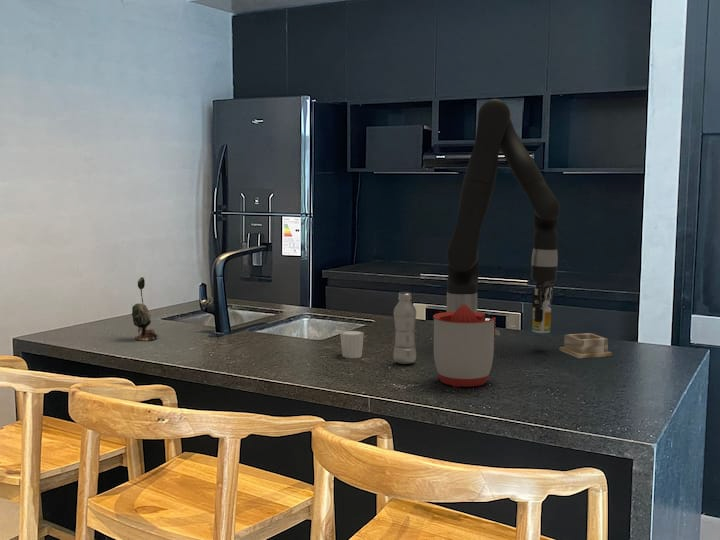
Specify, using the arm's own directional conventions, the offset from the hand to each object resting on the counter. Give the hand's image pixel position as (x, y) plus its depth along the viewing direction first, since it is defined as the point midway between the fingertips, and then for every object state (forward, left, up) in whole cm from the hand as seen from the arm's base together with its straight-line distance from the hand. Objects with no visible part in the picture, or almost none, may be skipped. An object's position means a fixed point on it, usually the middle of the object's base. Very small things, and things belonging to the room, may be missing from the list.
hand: (541, 320), depth 229 cm
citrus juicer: (-36, -28, -10) cm, 47 cm away
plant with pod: (-116, +49, -10) cm, 126 cm away
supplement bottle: (0, 0, -4) cm, 4 cm away
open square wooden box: (+11, -6, -9) cm, 16 cm away
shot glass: (-57, +8, -10) cm, 58 cm away
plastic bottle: (-45, -5, -10) cm, 46 cm away
